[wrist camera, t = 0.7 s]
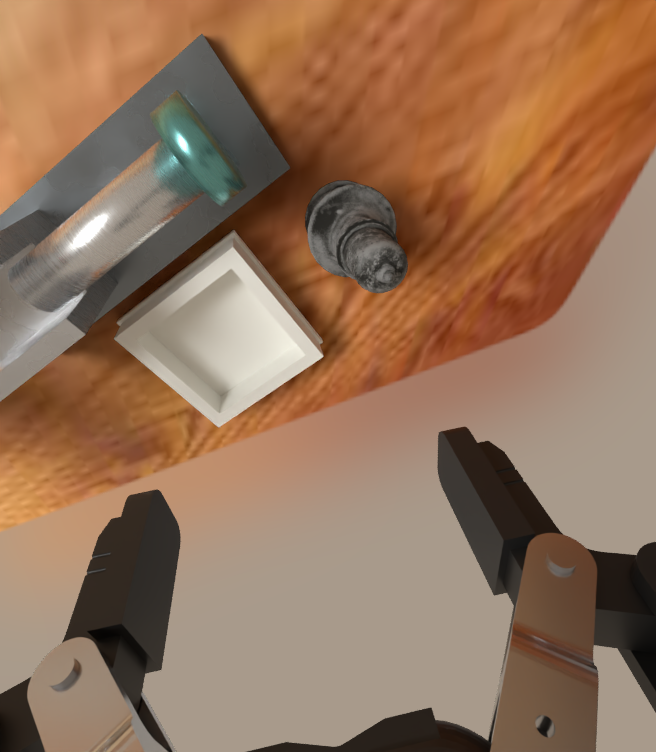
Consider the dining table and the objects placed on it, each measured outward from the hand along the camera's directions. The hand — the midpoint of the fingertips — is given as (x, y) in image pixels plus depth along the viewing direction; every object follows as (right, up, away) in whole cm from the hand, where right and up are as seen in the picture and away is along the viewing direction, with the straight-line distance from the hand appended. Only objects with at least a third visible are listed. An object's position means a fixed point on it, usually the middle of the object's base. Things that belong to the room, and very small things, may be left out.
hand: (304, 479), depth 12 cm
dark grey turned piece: (+2, +14, +18) cm, 23 cm away
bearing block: (-13, +13, +16) cm, 24 cm away
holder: (-7, +7, +21) cm, 23 cm away
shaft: (-10, +12, +12) cm, 20 cm away
